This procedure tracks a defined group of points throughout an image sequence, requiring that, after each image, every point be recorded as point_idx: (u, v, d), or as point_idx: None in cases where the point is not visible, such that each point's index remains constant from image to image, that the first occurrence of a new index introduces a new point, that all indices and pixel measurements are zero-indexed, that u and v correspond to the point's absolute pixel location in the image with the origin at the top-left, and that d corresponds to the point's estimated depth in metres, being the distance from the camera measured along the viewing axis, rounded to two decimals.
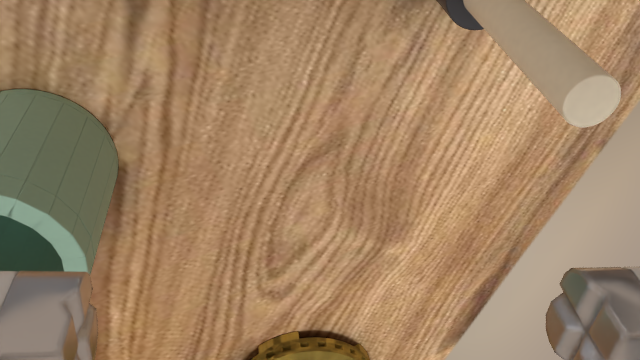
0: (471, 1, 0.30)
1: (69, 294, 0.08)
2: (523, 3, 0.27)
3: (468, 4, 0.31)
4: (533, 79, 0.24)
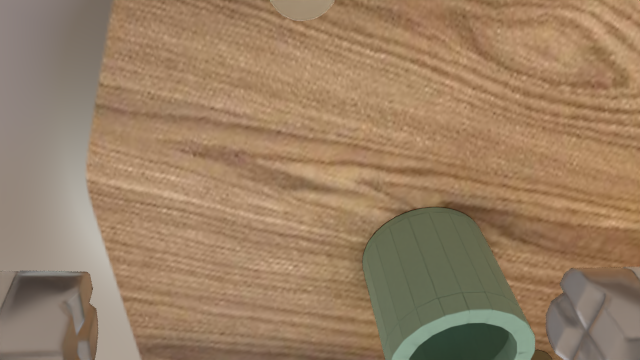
0: None
1: (69, 294, 0.08)
2: None
3: None
4: None
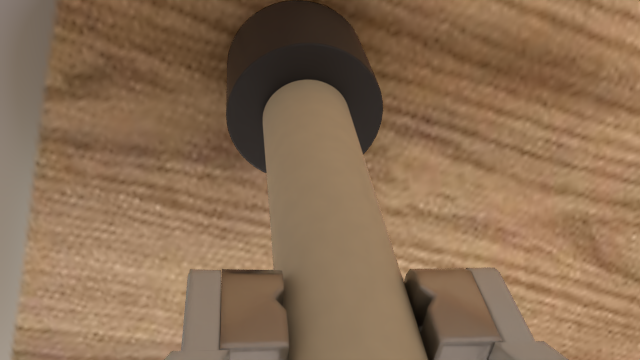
0: None
1: (277, 291, 0.09)
2: (272, 231, 0.11)
3: None
4: None
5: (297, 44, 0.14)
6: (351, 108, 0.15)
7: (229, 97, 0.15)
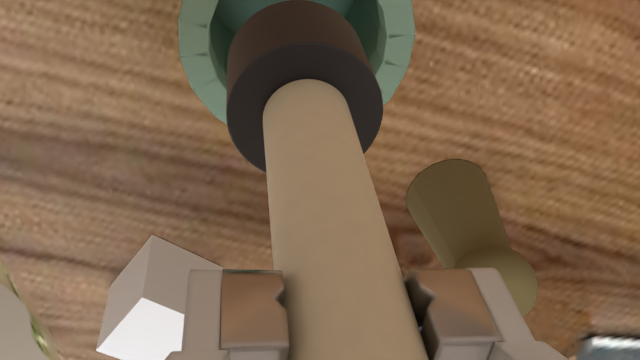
0: None
1: (277, 292, 0.09)
2: (272, 231, 0.11)
3: None
4: None
5: (298, 44, 0.14)
6: (351, 108, 0.15)
7: (229, 97, 0.15)
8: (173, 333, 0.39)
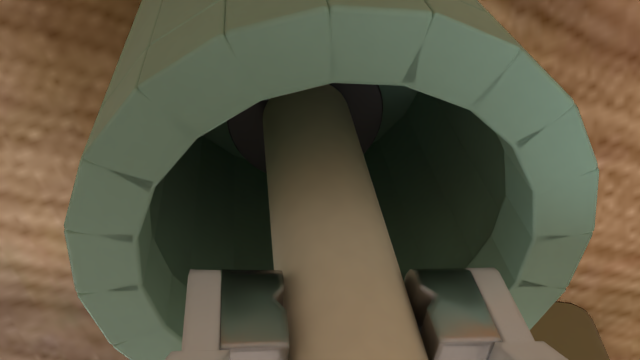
0: None
1: (277, 291, 0.09)
2: (272, 231, 0.11)
3: None
4: None
5: None
6: (351, 109, 0.15)
7: None
8: None
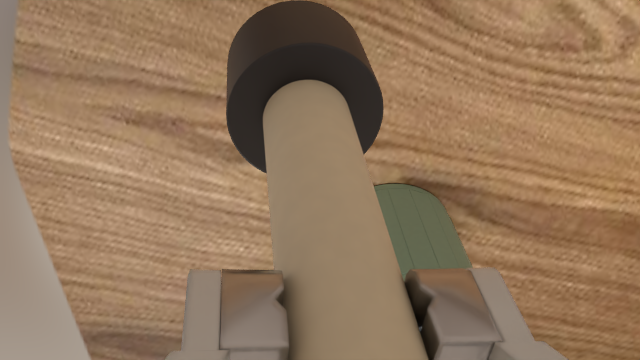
0: None
1: (277, 291, 0.09)
2: (272, 231, 0.11)
3: None
4: None
5: (298, 45, 0.14)
6: (351, 109, 0.15)
7: (229, 97, 0.15)
8: None
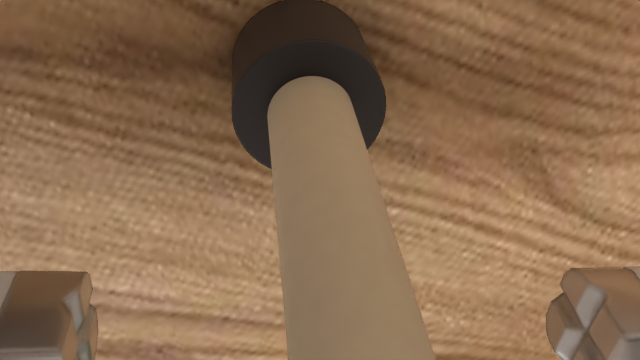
0: None
1: (69, 294, 0.08)
2: (277, 223, 0.11)
3: None
4: None
5: (302, 41, 0.14)
6: (354, 105, 0.15)
7: (234, 93, 0.15)
8: None
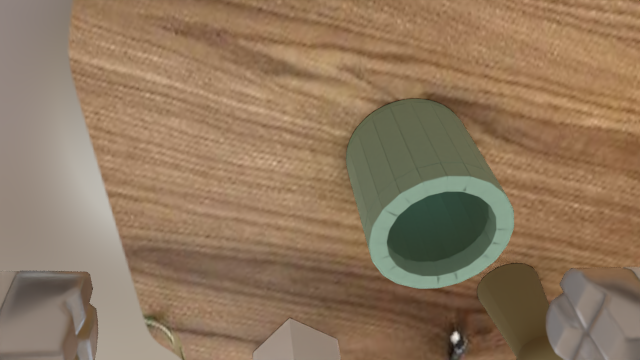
0: None
1: (70, 294, 0.08)
2: None
3: None
4: None
5: None
6: None
7: None
8: None
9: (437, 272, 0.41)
